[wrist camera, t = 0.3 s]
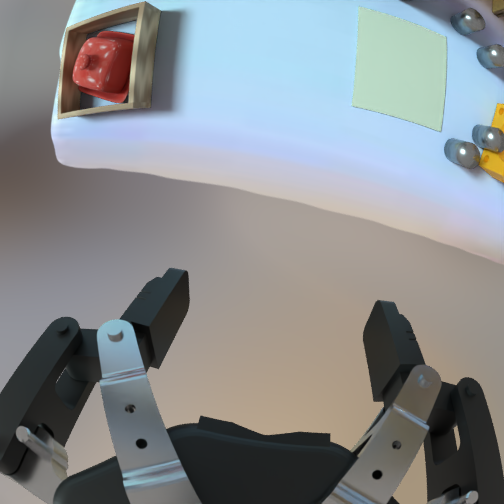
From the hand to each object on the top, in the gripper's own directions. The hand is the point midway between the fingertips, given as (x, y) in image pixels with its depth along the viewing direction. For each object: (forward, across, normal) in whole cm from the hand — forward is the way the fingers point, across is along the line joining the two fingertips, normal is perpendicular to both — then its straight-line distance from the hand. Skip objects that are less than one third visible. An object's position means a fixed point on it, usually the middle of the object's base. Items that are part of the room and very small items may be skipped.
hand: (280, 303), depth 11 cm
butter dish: (+29, +29, -16) cm, 44 cm away
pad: (+29, -14, -18) cm, 37 cm away
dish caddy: (+29, +29, -16) cm, 44 cm away
